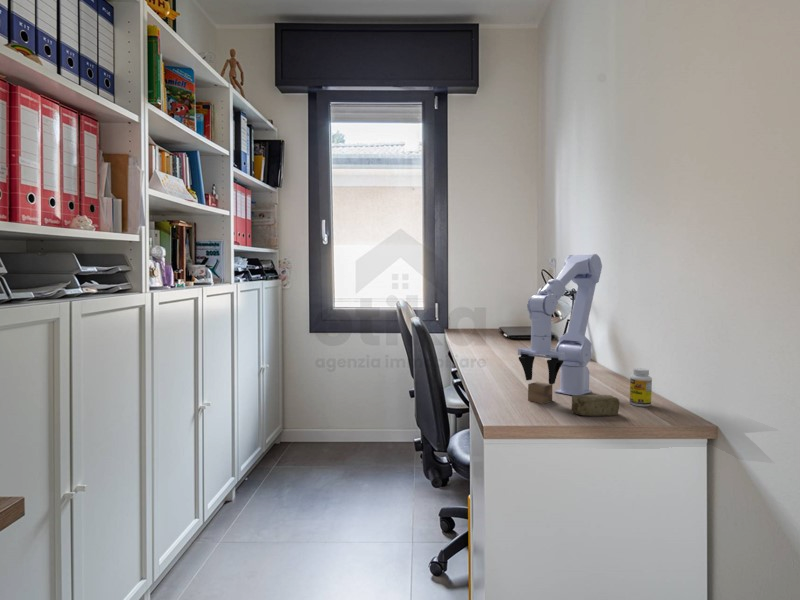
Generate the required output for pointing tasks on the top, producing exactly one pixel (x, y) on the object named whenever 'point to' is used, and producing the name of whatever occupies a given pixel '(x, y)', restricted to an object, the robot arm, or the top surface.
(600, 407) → the stone block
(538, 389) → the walnut cube
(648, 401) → the supplement bottle
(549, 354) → the robot arm
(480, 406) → the top surface
